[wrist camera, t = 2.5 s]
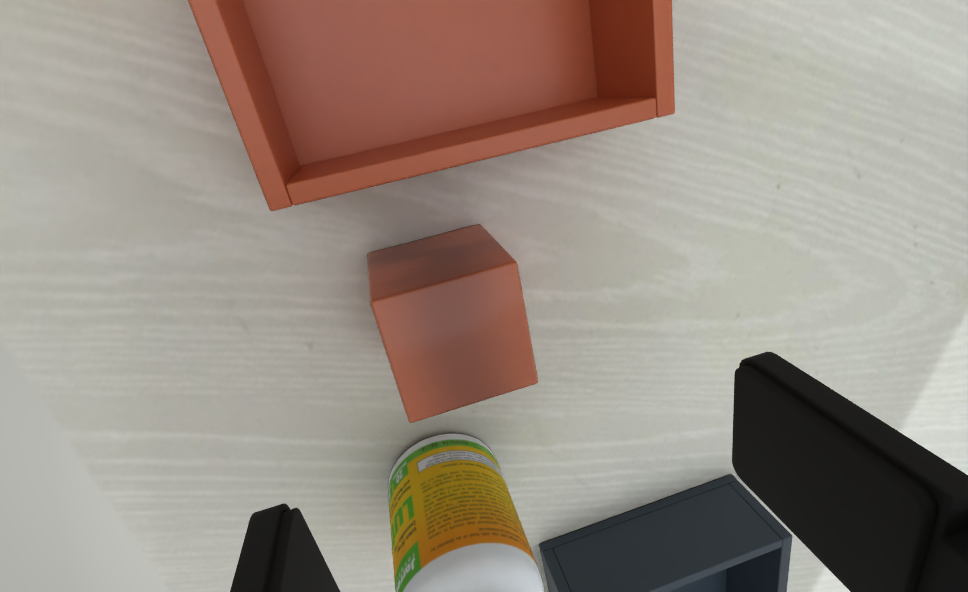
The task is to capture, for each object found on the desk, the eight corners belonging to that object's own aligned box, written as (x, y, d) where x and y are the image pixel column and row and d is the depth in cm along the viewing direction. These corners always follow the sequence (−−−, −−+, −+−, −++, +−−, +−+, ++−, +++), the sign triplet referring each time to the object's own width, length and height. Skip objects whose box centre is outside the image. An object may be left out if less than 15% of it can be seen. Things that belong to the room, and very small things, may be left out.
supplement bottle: (384, 436, 22) (402, 661, 13) (499, 423, 23) (584, 620, 14) (389, 526, 24) (407, 772, 15) (494, 509, 25) (566, 727, 16)
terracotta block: (398, 353, 21) (409, 424, 16) (366, 252, 19) (369, 302, 14) (500, 323, 21) (539, 383, 17) (480, 223, 19) (517, 261, 15)
